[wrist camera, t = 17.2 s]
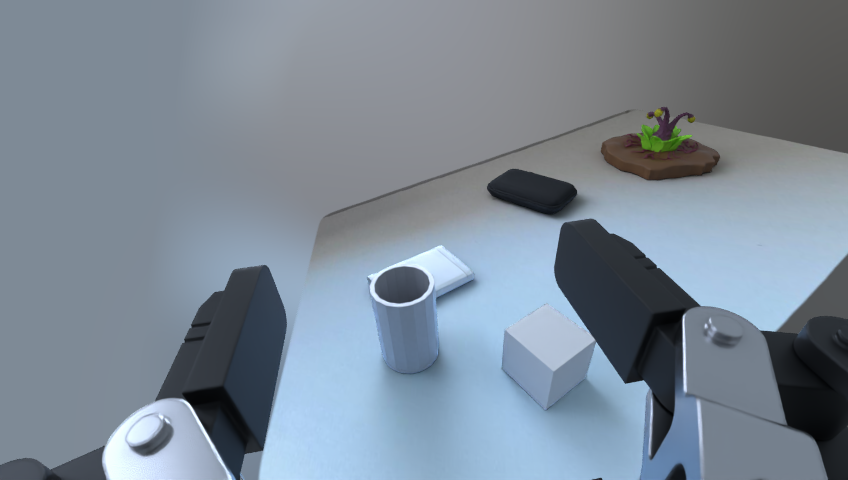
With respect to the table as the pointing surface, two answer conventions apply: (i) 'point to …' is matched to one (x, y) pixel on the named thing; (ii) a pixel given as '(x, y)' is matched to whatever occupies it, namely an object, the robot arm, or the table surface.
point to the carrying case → (532, 190)
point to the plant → (660, 151)
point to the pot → (406, 317)
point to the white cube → (547, 354)
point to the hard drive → (441, 269)
